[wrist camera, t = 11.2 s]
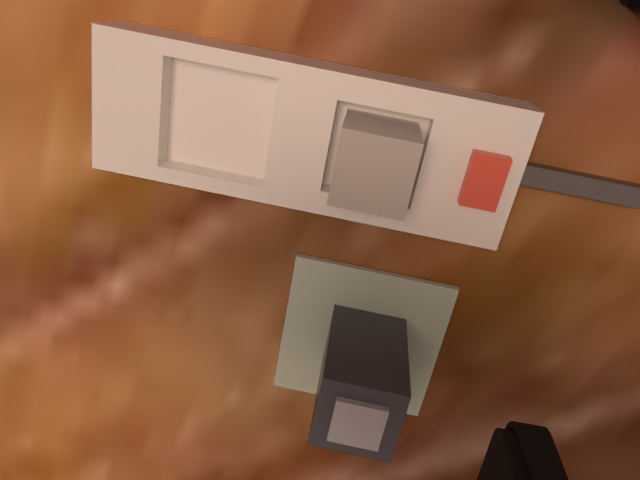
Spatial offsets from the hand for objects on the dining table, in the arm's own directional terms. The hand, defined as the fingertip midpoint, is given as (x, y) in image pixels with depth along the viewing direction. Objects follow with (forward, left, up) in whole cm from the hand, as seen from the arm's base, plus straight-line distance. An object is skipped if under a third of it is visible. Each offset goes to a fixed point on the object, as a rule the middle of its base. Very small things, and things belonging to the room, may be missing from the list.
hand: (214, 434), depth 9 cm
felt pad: (-5, +15, -26) cm, 30 cm away
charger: (-5, +15, -25) cm, 30 cm away
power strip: (-3, +1, -26) cm, 26 cm away
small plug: (-3, +1, -24) cm, 24 cm away
